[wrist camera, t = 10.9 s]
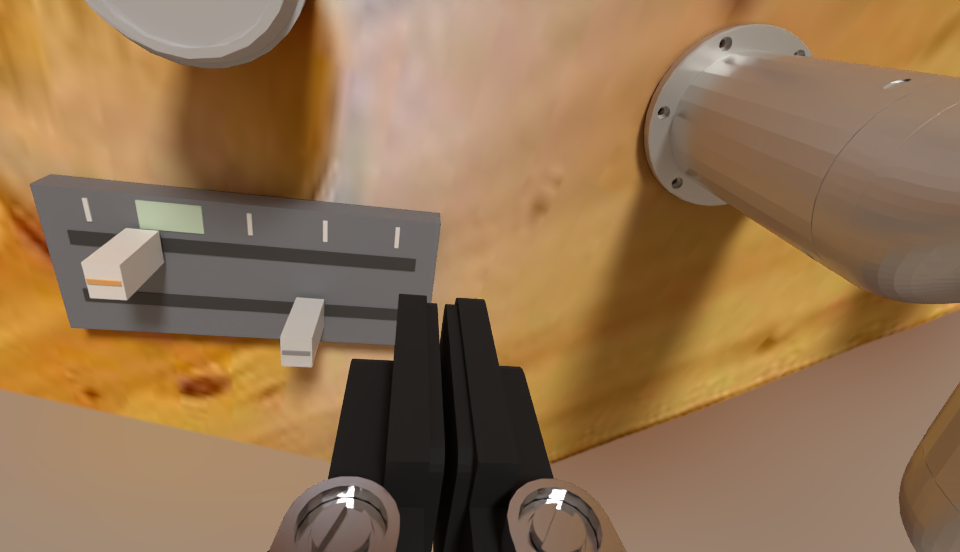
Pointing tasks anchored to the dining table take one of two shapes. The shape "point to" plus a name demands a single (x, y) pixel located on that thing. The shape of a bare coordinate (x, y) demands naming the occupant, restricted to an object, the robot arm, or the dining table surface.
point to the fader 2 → (302, 332)
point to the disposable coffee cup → (202, 27)
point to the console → (239, 259)
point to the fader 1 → (123, 264)
